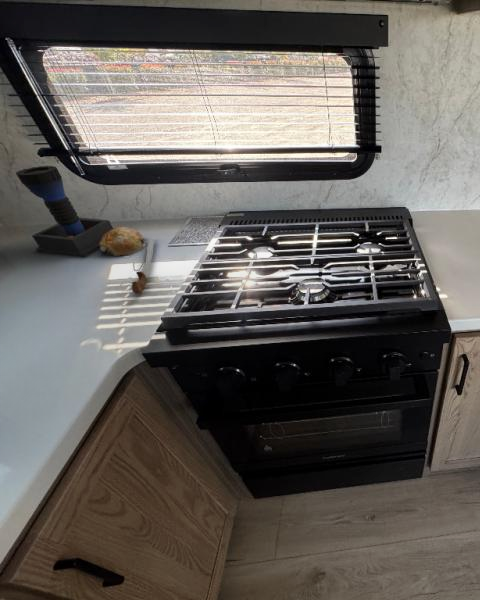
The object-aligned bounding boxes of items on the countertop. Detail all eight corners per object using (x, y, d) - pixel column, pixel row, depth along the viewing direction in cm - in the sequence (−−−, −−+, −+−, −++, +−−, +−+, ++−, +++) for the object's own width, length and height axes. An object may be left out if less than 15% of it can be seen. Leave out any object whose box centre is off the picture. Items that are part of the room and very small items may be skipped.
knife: (136, 286, 79) (150, 228, 100) (129, 287, 79) (145, 228, 100) (145, 300, 82) (157, 241, 103) (138, 302, 82) (152, 242, 103)
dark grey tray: (38, 253, 97) (26, 235, 94) (79, 232, 107) (69, 215, 104) (86, 258, 96) (74, 240, 92) (122, 236, 106) (113, 220, 102)
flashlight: (71, 234, 103) (28, 165, 91) (101, 232, 104) (62, 164, 92) (55, 247, 97) (7, 175, 84) (87, 245, 98) (44, 174, 86)
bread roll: (144, 264, 100) (147, 239, 97) (97, 259, 94) (99, 232, 91) (143, 249, 107) (146, 225, 104) (99, 244, 100) (101, 218, 97)
